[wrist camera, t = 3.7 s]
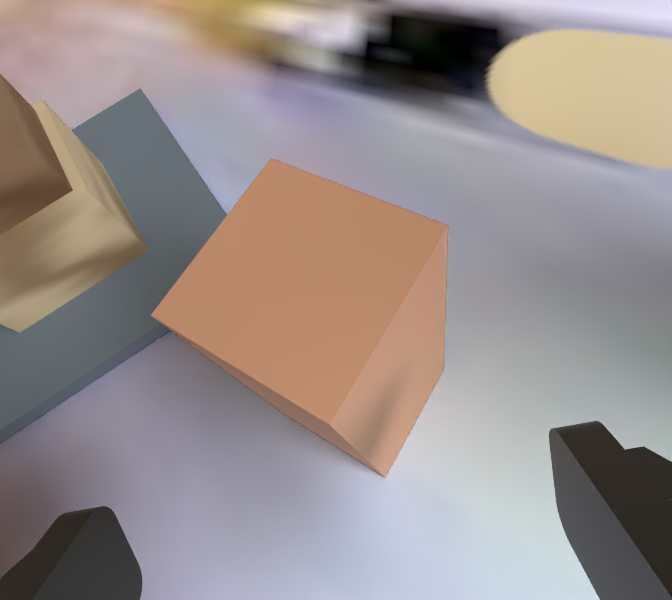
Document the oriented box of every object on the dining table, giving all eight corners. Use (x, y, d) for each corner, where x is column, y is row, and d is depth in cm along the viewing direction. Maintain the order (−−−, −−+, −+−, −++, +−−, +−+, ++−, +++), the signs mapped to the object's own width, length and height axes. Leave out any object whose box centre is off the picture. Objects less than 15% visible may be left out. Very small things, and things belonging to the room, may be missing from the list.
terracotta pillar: (344, 319, 20) (271, 158, 11) (443, 369, 19) (448, 225, 10) (284, 414, 19) (150, 315, 10) (385, 477, 17) (329, 425, 8)
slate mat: (147, 99, 29) (140, 88, 28) (263, 268, 22) (257, 259, 21) (-76, 235, 28) (-90, 227, 27) (-26, 460, 21) (-43, 457, 20)
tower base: (102, 164, 26) (42, 98, 22) (148, 249, 23) (87, 191, 19) (-12, 235, 25) (-95, 180, 21) (19, 333, 22) (-72, 290, 18)
